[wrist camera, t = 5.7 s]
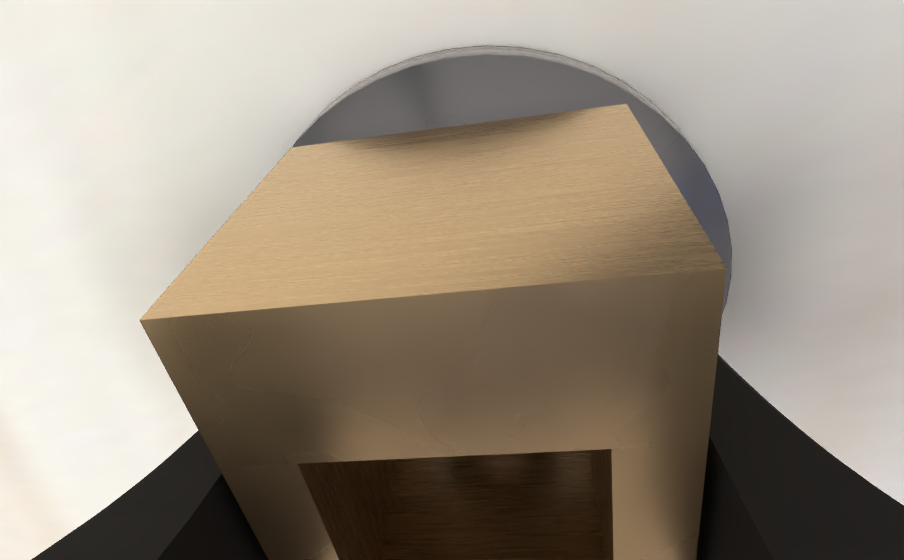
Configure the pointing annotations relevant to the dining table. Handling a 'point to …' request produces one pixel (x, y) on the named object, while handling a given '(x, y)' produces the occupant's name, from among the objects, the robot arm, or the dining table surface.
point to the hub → (513, 111)
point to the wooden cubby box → (458, 346)
